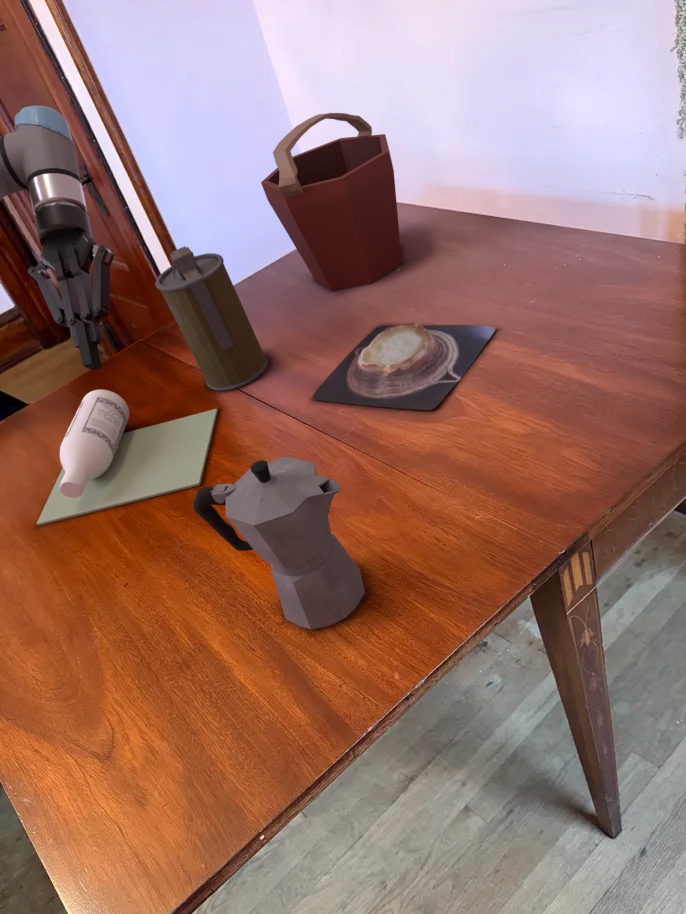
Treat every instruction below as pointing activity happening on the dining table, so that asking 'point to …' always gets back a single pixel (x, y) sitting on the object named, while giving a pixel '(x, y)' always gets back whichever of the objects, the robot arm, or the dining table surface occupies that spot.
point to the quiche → (405, 366)
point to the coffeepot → (289, 537)
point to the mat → (142, 468)
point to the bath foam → (92, 440)
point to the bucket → (338, 204)
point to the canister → (212, 319)
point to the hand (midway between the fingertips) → (92, 366)
